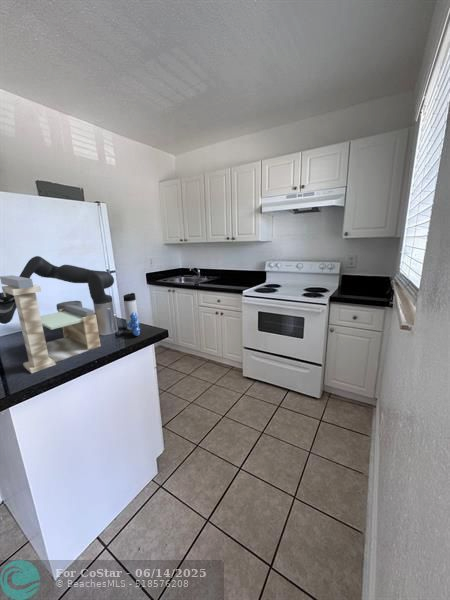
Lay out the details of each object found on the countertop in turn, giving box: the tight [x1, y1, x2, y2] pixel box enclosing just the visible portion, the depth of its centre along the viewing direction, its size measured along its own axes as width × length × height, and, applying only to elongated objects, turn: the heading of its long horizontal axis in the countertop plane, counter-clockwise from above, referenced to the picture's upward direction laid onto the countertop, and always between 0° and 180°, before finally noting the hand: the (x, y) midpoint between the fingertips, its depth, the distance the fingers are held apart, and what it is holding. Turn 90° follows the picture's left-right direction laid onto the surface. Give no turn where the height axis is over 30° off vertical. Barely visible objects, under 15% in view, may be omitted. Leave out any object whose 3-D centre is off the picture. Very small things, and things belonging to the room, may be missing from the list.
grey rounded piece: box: [56, 300, 83, 312], centre depth 138 cm, size 13×13×15 cm
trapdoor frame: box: [46, 308, 102, 363], centre depth 112 cm, size 18×27×16 cm
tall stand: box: [1, 284, 57, 374], centre depth 94 cm, size 8×14×32 cm, turn 54°
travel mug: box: [122, 292, 140, 331], centre depth 135 cm, size 6×7×20 cm
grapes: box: [126, 312, 141, 337], centre depth 125 cm, size 12×7×12 cm, turn 30°
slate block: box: [0, 275, 34, 289], centre depth 93 cm, size 4×24×3 cm, turn 54°
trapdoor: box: [40, 304, 95, 331], centre depth 111 cm, size 17×24×4 cm
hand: (7, 289), depth 105 cm, fingers open, 8 cm apart
